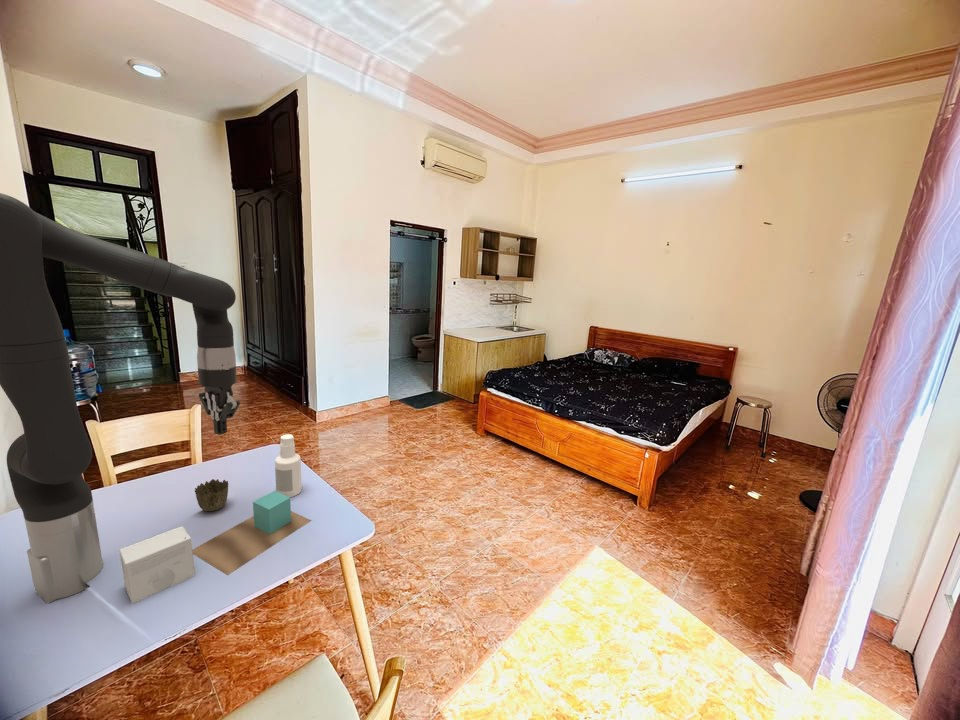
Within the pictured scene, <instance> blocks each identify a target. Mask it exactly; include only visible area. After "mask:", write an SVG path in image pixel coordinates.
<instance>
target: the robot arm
mask: <svg viewBox="0 0 960 720" xmlns="http://www.w3.org/2000/svg"><path fill="white" fill-rule="evenodd" d="M44 258H47V259H51V260H55V261H59V262H63V263H66V264H70V265H74V266H76V267H78V268H79V267H80V268H83V269H84V270H85V269H86V270H89V271H91V272H93V273H96V274H98V275H102V276H105V277H107V278H110V279H112V280H115V281H118V282H121V283H122V284H123V283H124V284H127V285H129V286H133V287H136V288H139V289H141V290H145V291H148V292H152V293H155V294H159V295H162V296H165V297H170V298H171V297H172V298H176V299H179V300H182V301H184V302H187V303H190V304H191V305H192V310H193V314H194V318H195V323H196V338H197V339H196V341H197V352H196V361H197V362H196V363H197V375H198V376H197V378H198V380H197V381H198V384H199V386H201V387H203V388H204V391H203V392H199V393H198V398H199V400H200V401H201V404H202V406H203V408H204V410H205V412H206V414H207V416H211V419H212V420H213V433H214V434H216V435H217V436H218V435H219V436H220V435H223V434H226V433H227V432H228V425H227V422H228V421H227V419H231V418H233V417H234V415H235V414H236V412H237V411H238V408H239V407H240V405H241V402H240V400H238V399H237V400H235V399H234V398H233V397H234V393H233V390H232V389H233V388H232V386H233V385H234V384H236V383H237V359H236V352H235V343H234V341H235V339H234V327H233V325H232V323H231V321H230V320H229V316H228V310H229V309H231V307H232V306H233V305H234V304H235V303H236V298H237V297H236V292H235V289H234V288H233V287H232V286H231V285H230V284H229V283H227V282H226V281H223V280H221V279H219V278H215V277H213V276H208V275H206V274H202V273H199V272H195V271H193V270H188V269H186V268H184V267H182V266H180V265H178V264H176V263H173V262H170V261H167V260H165V259H163V258H159V257H157V256H154V255H151V254H148V253H145V252H143V251H139V250H136V249H133V248H130V247H126V246H123V245H120V244H116V243H113V242H109V241H106V240H103V239H100V238H98V237H95V236H91V235H88V234H85V233H83V232H80V231H77V230H75V229H73V228H71V227H68V226H65V225H64V224H61V223H58V221H57V222H56V221H54V220H52V219H50V218H48V217H47V216H45V215H42V214H40V213H38V212H36V211H35V210H33V208H31V207H30V206H28V204H26V203H25V202H23V201H21V200H19V199H18V198H16V197H13V196H12V195H11V196H10V195H8V194H5V193H0V387H1V389H2V391H3V392H4V393H5V395H6V397H7V398H8V400H9V401H10V403H11V404H12V405H13V407H14V409H15V411H16V412H17V414H18V416H19V419H20V421H21V425H22V428H23V433H22V434H21V435H20V436H18V437H17V438H16V439H15V440H14V441H13V442H12V443H11V444H10V446H9V448H8V450H7V453H6V466H7V471H8V476H9V479H10V483H11V487H12V491H13V495H14V498H15V500H16V503H17V504H18V506H19V508H20V509H21V511H22V513H23V518H24V523H25V528H26V533H27V538H28V543H29V547H30V548H28V549H27V550H26V553H27V558H28V564H29V568H30V573H31V577H32V578H31V579H32V582H33V583H32V584H33V588H34V591H35V592H36V593H37V594H38V595H39V596H40V597H41V599H43V600H44V601H45V602H46V603H48V604H49V603H52V602H54V601H56V600H59V599H64V598H68V597H70V596H73V595H75V594H78V593H80V592H82V591H85V590H86V589H89V588H90V587H91V586H90V584H88V583H89V582H90V581H92V580H93V579H94V578H96V577H97V576H98V575H100V573H101V572H102V570H103V568H104V560H103V556H102V550H101V549H102V548H101V542H100V537H99V529H98V525H97V524H98V523H97V517H96V513H95V507H94V500H93V499H94V498H93V494H92V493H93V492H92V489H91V487H90V485H89V484H88V482H86V480H85V479H84V477H83V476H82V475H83V474H84V473H85V472H86V470H87V469H88V468H89V465H91V462H92V458H93V447H92V444H91V442H90V439H89V437H88V432H86V429H85V426H84V423H83V420H82V417H81V414H80V411H79V408H78V404H77V397H76V392H75V391H76V390H75V385H74V378H73V376H72V374H73V373H72V370H71V363H70V356H69V350H68V346H67V341H66V338H65V337H66V336H65V333H64V329H63V325H62V322H61V319H60V316H59V314H58V311H57V308H56V306H55V303H54V302H53V299H52V296H51V295H50V291H49V289H48V285H47V281H46V278H45V277H46V275H45V269H44Z"/></svg>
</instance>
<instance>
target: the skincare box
mask: <svg viewBox="0 0 960 720" xmlns="http://www.w3.org/2000/svg"><path fill="white" fill-rule="evenodd" d="M192 545H193V544H192V537H191V536H190V534H189V533H188V531H187V530H186V528H185V526H183V525H181V526H179V527H176V528H174V529H169V530H168V531H165V532H162V533H160V534H157V535H154V536H152V537H149V538H147V539H143V540H140V541H139V542H136V543H133V544H130V545H128V546H125V547H122V548H119V550H118V551H119V557H120V563H121V567H122V568H121V569H122V570H121V571H122V574H123V575H122V576H123V581H124V588H125V592H126V594H127V595H128V598H129V601H130V602H131V604H134V603H137V602H139V601H141V600H143V599H146V598H148V597H150V596H153V595H155V594H157V593H159V592H161V591H164V590H166V589H169V588H171V587H172V586H175V585H177V584H179V583H181V582H183V581H186V580H188V579H190V578H192V577H194V576H196V571H195V562H194V554H193V552H192V550H193V546H192Z"/></svg>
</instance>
